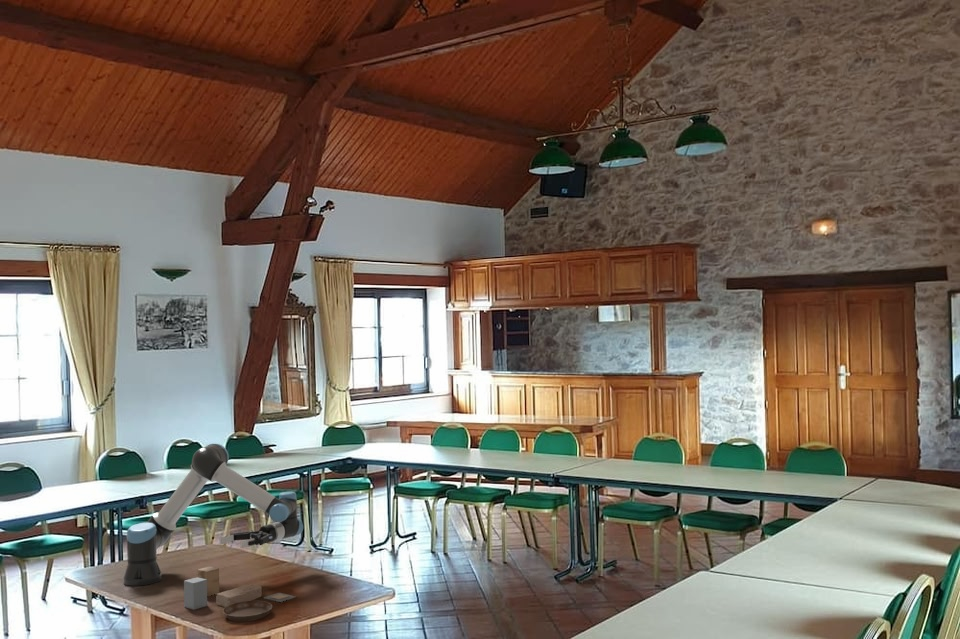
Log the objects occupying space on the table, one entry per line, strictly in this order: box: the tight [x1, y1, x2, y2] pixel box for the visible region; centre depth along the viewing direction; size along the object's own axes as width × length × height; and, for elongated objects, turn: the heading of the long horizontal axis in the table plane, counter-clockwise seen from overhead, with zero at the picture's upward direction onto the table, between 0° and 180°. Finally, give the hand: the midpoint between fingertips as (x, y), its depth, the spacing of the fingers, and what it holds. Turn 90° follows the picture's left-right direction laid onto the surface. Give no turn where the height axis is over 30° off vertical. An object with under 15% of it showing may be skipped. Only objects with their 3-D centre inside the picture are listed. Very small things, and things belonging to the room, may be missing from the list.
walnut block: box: [196, 565, 220, 597], centre depth 367 cm, size 6×6×10 cm
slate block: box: [183, 576, 208, 610], centre depth 351 cm, size 6×6×10 cm
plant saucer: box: [222, 600, 273, 622], centre depth 338 cm, size 18×18×3 cm
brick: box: [215, 583, 263, 608], centre depth 357 cm, size 16×8×5 cm, turn 143°
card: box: [263, 592, 297, 603], centre depth 359 cm, size 10×8×1 cm
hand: (230, 543), depth 375 cm, fingers open, 13 cm apart
